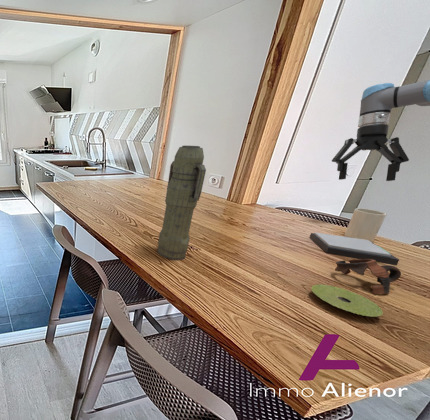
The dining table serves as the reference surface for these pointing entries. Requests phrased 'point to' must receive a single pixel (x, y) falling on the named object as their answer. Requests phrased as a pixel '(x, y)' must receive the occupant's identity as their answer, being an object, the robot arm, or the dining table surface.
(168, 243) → the thermos
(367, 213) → the cup
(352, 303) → the green disc
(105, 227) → the dining table surface
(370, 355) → the dining table surface
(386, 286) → the brown branching piece
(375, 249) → the kitchen scale
